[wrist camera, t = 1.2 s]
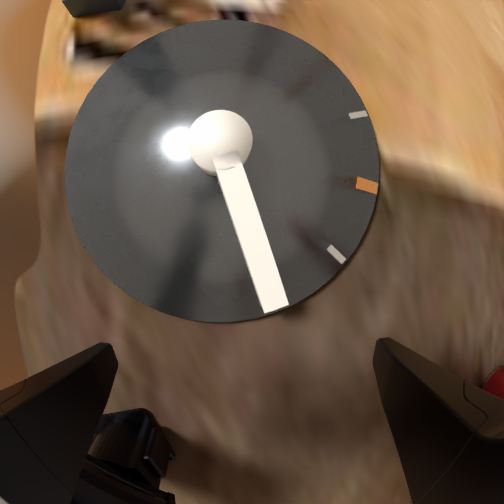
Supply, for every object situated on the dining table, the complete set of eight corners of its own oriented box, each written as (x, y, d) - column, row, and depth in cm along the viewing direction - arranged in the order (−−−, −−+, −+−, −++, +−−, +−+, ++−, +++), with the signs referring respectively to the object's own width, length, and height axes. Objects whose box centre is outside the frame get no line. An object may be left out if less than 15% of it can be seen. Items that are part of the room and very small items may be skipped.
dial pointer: (183, 131, 19) (179, 121, 17) (239, 114, 19) (240, 102, 17) (243, 310, 20) (246, 319, 18) (298, 291, 20) (306, 298, 18)
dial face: (126, 356, 20) (124, 360, 20) (52, 85, 18) (48, 82, 17) (408, 255, 22) (412, 256, 21) (309, 8, 19) (311, 3, 19)
